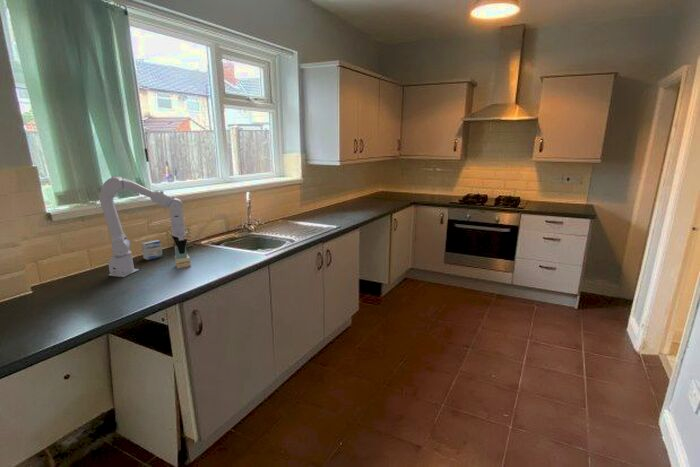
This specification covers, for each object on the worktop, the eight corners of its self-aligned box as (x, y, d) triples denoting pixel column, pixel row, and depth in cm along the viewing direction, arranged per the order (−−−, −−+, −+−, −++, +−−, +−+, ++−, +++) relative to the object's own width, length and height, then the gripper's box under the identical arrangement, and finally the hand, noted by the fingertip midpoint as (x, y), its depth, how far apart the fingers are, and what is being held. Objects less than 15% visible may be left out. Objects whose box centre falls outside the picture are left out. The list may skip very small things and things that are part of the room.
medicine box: (147, 260, 189) (145, 244, 187) (143, 258, 192) (141, 242, 190) (162, 256, 195) (160, 240, 193) (158, 255, 198) (156, 239, 196)
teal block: (187, 257, 179) (185, 246, 178) (176, 259, 177) (175, 248, 176) (185, 255, 183) (184, 244, 182) (175, 256, 181) (174, 245, 179)
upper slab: (190, 262, 180) (189, 257, 179) (176, 264, 177) (176, 259, 176) (188, 259, 185) (187, 254, 184) (175, 261, 182) (174, 256, 181)
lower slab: (190, 267, 180) (190, 262, 180) (177, 269, 177) (176, 264, 177) (189, 263, 185) (188, 259, 185) (176, 265, 182) (175, 261, 182)
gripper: (189, 226, 172) (192, 254, 175) (184, 220, 184) (187, 246, 187) (172, 227, 168) (176, 256, 172) (168, 221, 180) (172, 248, 184)
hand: (180, 251), depth 179 cm, fingers open, 7 cm apart
